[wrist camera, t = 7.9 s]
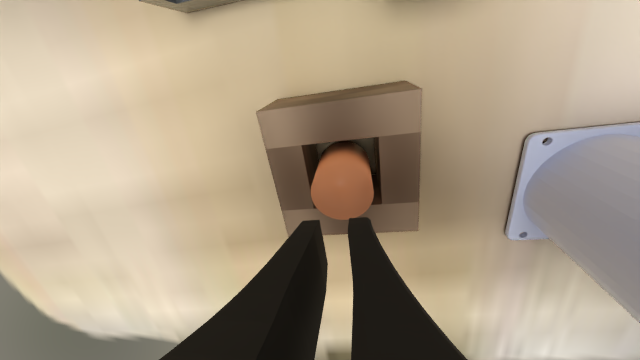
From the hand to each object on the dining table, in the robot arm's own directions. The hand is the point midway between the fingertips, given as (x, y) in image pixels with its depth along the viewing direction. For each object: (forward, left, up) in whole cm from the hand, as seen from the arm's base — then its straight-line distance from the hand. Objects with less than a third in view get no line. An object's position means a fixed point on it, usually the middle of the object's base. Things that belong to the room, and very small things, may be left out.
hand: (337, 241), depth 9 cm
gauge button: (0, 0, -7) cm, 7 cm away
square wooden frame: (0, 0, -9) cm, 9 cm away
